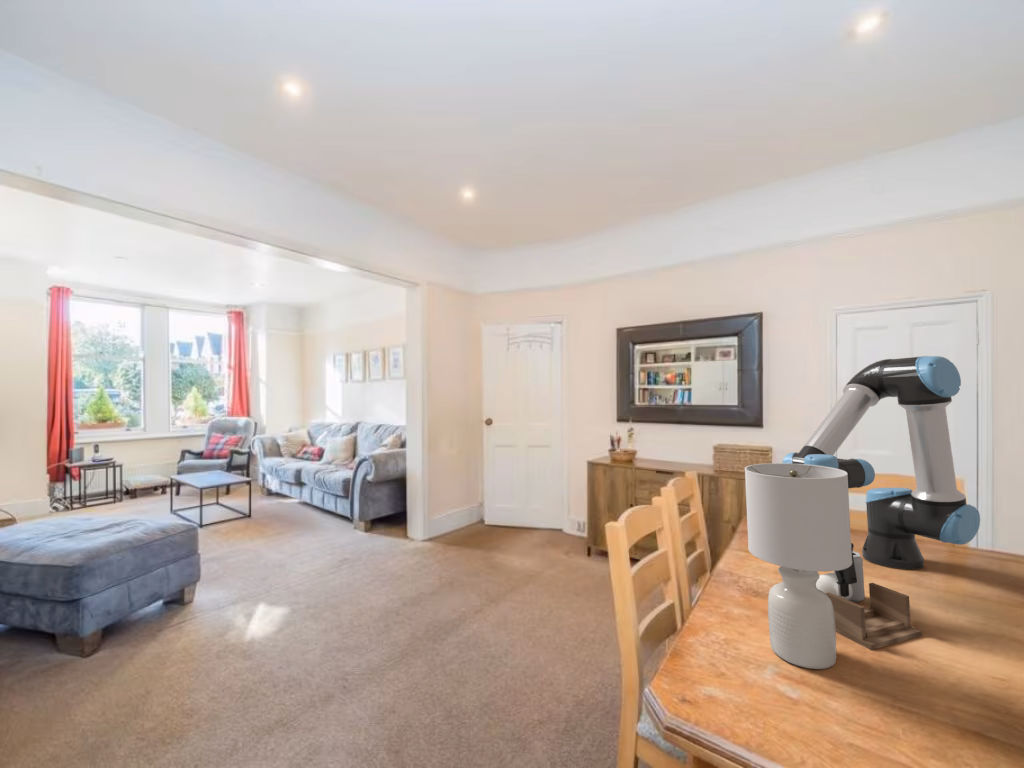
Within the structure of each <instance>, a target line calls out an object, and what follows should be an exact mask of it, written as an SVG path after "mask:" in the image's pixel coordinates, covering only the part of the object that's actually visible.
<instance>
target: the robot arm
mask: <svg viewBox="0 0 1024 768" xmlns="http://www.w3.org/2000/svg"><path fill="white" fill-rule="evenodd" d="M961 386H962V380H961V374H960V372H959V370H958V368H957V367H956V365H955V364H954V363H953V362H952V361H951V360H949V359H948V358H946V357H944V356H939V355H934V356H933V355H932V356H931V355H929V356H928V355H924V356H923V355H922V356H912V357H903V358H901V357H900V358H886V359H881V360H877V361H875V362H873V363H870V364H868V365H867V366H866V367H864V368H863V369H861V370H860V371H859V372H858V373H856V374H855V375H854V376H853V377H851V379H850V380H849V381H848V382H847V383H846V385H845V386H844V387H843V390H842V393H843V394H842V395H841V397H840V398H839V399H838V401H837V402H836V404H835V405H834V407H833V408H832V409H831V410H830V411H829V413H828V414H827V416H826V417H825V418H824V419H823V420H822V422H821V423H820V424H819V425H818V427H817V428H816V430H815V431H814V432H813V433H812V435H811V436H810V438H809V439H808V440H807V441H806V443H805V444H804V445H803V447H802V448H801V449H800V450H799V452H797V451H796V452H790V453H788V454H786V455H785V456H784V457H783V460H782V463H788V464H807V465H817V466H825V467H831V468H836V469H840V470H843V471H845V472H847V473H848V489H855V488H858V489H859V488H863V487H868V486H869V485H871V484H872V483H873V482H874V481H875V477H876V473H875V468H874V467H873V465H872V464H871V463H870V462H868V461H867V460H865V459H862V458H850V459H845V458H838V457H837V456H836V455H835V453H836V452H837V451H838V450H839V449H840V448H841V446H842V444H843V443H844V441H846V439H847V438H848V436H850V434H851V433H852V431H853V430H854V428H855V427H856V426H857V425H858V423H859V422H860V420H861V419H862V418H863V416H864V415H865V414H866V413H867V411H868V410H869V408H870V407H874V406H876V405H878V403H879V402H880V400H882V399H885V398H889V397H891V398H896V399H897V404H898V406H899V407H901V408H903V409H904V410H905V412H906V413H905V414H906V419H907V420H906V421H907V428H908V434H909V441H910V448H911V449H910V450H911V456H912V461H913V462H912V464H913V468H914V469H913V470H914V474H915V475H914V476H915V483H916V488H915V489H914V490H912V489H911V488H905V487H875V488H871V489H868V490H867V492H866V495H865V496H866V497H865V504H866V520H867V521H866V522H867V535H866V538H865V541H864V544H863V547H862V548H861V554H862V557H863V558H862V559H864V560H866V561H868V562H870V563H872V564H876V565H879V566H884V567H886V568H893V569H899V570H919V569H923V568H924V567H925V559H924V556H923V554H922V552H921V550H920V547H919V545H918V543H917V540H916V536H919V537H920V536H921V537H924V538H927V539H931V540H935V541H939V542H942V543H945V544H946V543H948V544H954V545H957V546H962V545H966V544H969V543H970V542H972V540H974V538H975V537H976V536H977V533H978V531H979V529H980V526H981V525H980V524H981V513H980V512H979V510H978V509H977V507H975V506H974V505H971V504H967V498H966V497H967V496H966V495H965V494H964V493H963V492H961V491H960V490H958V487H957V486H958V485H957V481H956V480H957V479H956V473H955V465H954V458H953V452H952V443H951V438H950V436H951V435H950V429H949V425H948V416H947V410H946V409H947V407H948V405H950V404H951V403H952V402H953V400H952V397H955V396H956V395H957V394H958V393H959V392H960V389H961V388H960V387H961ZM851 551H852V552H853V551H854V543H853V542H851ZM816 572H818V573H819V571H816ZM835 574H836V576H837V579H838V582H835V588H836V595H837V596H839V597H842V598H844V599H846V600H847V596H849V584H853V583H857V577H856V571H855V565H854V559H853V553H852V565H851V566H850V567H848V568H846V569H843V570H838V571H835Z"/></svg>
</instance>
